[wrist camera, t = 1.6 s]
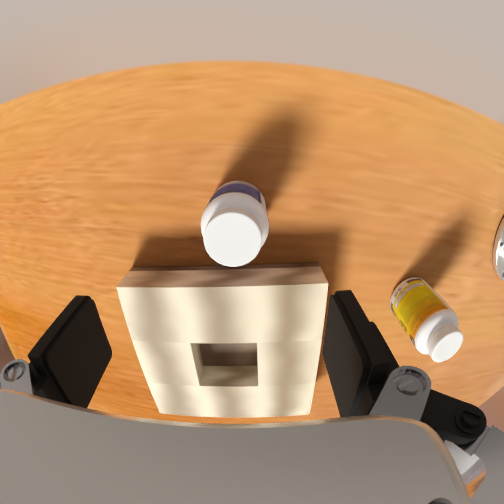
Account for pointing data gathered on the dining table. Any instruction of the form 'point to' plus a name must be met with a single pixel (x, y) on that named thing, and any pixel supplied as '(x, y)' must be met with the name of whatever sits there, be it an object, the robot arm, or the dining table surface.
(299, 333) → the socket block
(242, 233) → the pill bottle
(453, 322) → the supplement bottle
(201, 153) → the dining table surface
